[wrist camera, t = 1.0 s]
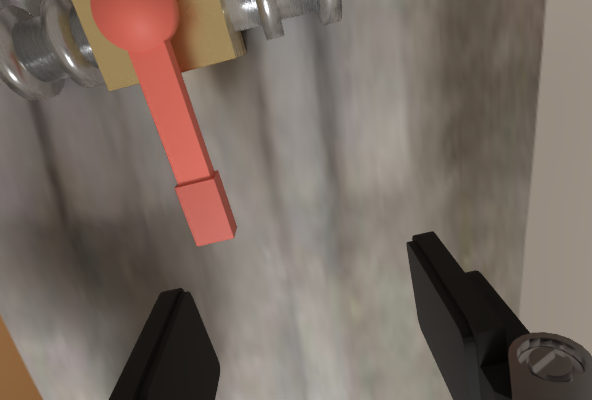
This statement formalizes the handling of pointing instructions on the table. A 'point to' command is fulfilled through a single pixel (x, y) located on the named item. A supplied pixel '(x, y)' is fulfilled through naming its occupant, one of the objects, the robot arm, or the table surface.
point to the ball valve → (115, 61)
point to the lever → (169, 108)
